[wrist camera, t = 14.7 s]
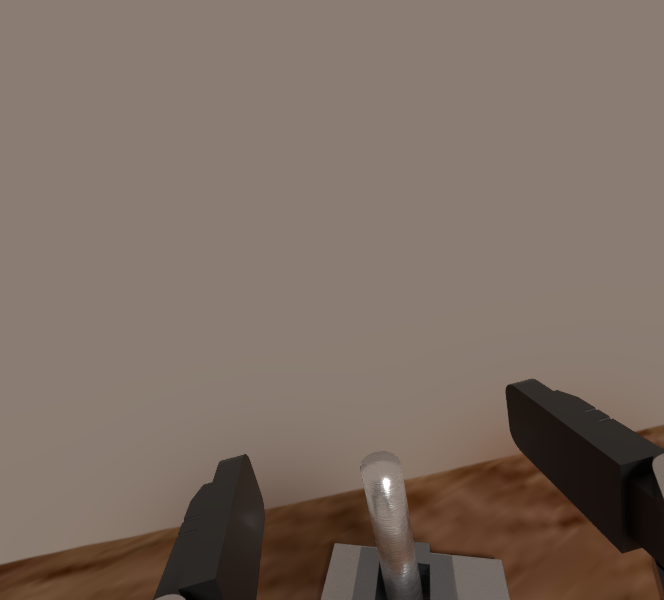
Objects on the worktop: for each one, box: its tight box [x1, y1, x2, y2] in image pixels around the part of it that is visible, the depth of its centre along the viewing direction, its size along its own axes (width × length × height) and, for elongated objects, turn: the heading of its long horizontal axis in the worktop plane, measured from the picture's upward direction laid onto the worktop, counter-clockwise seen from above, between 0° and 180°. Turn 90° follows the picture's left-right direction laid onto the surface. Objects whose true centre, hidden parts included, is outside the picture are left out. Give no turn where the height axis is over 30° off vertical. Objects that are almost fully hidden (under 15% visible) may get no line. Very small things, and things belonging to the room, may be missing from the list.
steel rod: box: [360, 451, 424, 600], centre depth 25 cm, size 3×3×16 cm
